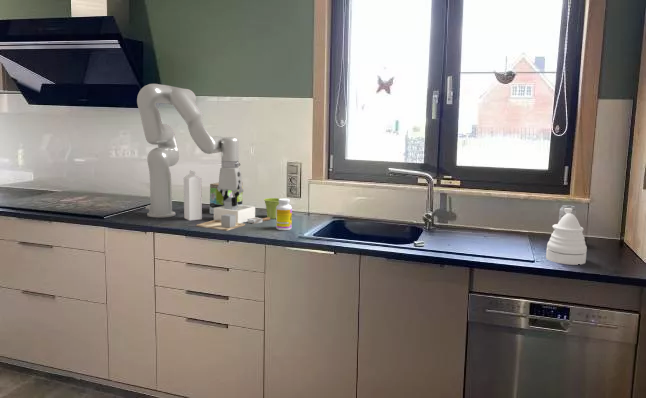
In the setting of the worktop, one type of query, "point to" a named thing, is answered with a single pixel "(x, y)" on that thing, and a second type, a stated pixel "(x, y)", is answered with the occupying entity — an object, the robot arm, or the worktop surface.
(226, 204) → the grey block
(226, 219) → the gray block
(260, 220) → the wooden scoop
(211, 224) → the tray
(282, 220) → the supplement bottle
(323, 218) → the worktop surface
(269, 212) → the plant pot
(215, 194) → the tea box
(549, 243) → the honey pot
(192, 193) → the milk
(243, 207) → the bin
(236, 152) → the robot arm
